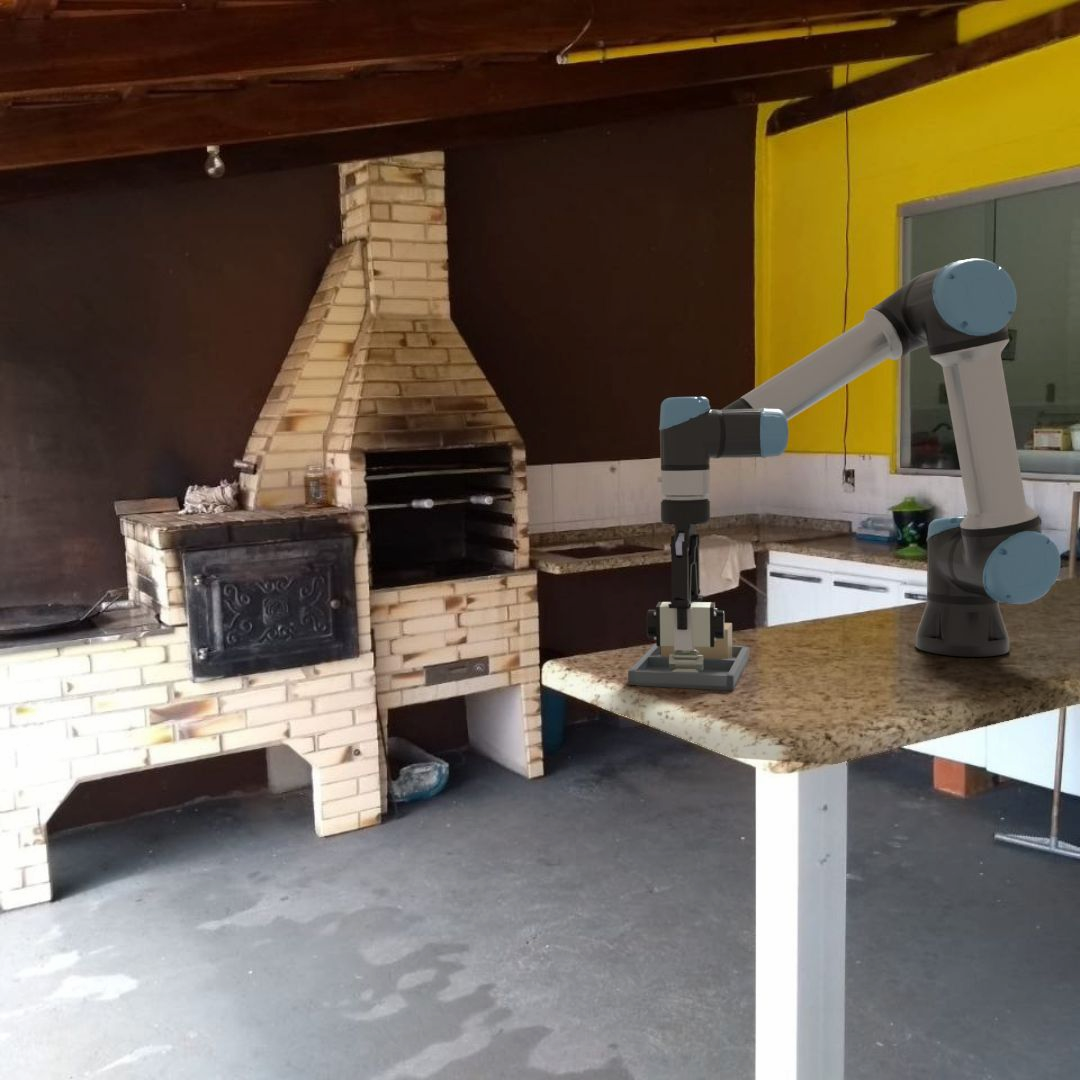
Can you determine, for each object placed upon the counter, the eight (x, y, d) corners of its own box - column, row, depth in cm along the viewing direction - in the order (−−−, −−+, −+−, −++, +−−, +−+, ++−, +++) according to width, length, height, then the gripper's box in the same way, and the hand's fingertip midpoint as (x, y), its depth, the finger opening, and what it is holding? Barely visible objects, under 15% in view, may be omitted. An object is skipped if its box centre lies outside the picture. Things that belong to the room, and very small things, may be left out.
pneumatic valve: (723, 677, 161) (723, 600, 159) (647, 675, 163) (646, 599, 162) (724, 669, 166) (724, 594, 165) (651, 667, 169) (649, 593, 167)
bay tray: (749, 658, 179) (749, 620, 178) (733, 690, 157) (733, 647, 156) (656, 654, 183) (655, 617, 183) (628, 685, 161) (627, 643, 161)
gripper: (671, 494, 172) (672, 634, 174) (649, 501, 154) (651, 657, 157) (717, 494, 170) (718, 635, 172) (700, 501, 152) (702, 659, 154)
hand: (686, 645), depth 164 cm, fingers closed on pneumatic valve, 5 cm apart
